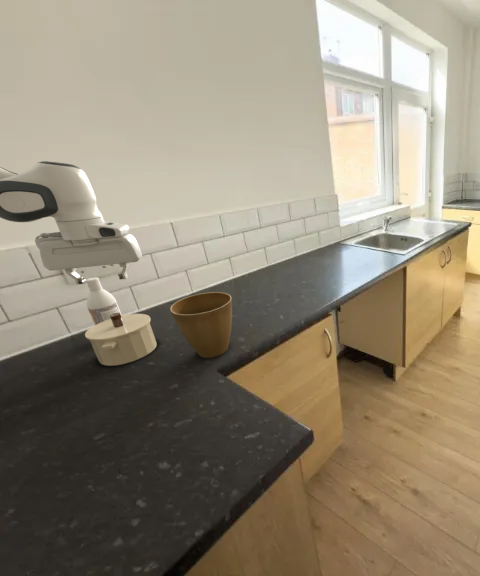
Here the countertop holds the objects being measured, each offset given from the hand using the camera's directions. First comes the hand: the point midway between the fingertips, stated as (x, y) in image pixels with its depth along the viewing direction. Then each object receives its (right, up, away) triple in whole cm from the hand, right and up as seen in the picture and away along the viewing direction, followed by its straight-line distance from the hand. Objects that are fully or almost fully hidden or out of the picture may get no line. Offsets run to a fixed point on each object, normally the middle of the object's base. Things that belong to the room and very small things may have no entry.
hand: (103, 281), depth 86 cm
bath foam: (-11, -18, +17) cm, 27 cm away
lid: (0, -13, +5) cm, 14 cm away
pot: (0, -21, +8) cm, 23 cm away
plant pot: (+26, -21, +8) cm, 34 cm away
